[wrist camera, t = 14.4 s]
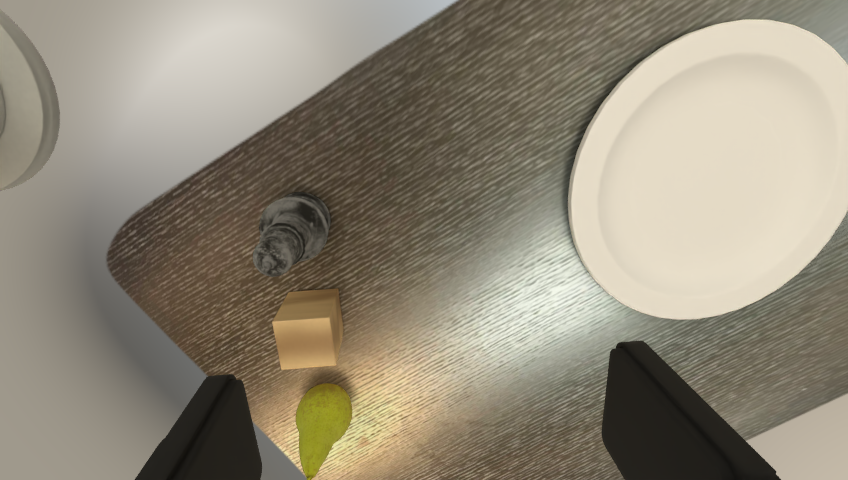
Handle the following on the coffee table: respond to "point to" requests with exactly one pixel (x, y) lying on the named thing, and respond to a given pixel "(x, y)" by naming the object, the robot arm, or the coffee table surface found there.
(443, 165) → the coffee table surface
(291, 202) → the grey chess bishop
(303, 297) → the maple block
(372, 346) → the coffee table surface
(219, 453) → the robot arm
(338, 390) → the fruit
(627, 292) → the plate
